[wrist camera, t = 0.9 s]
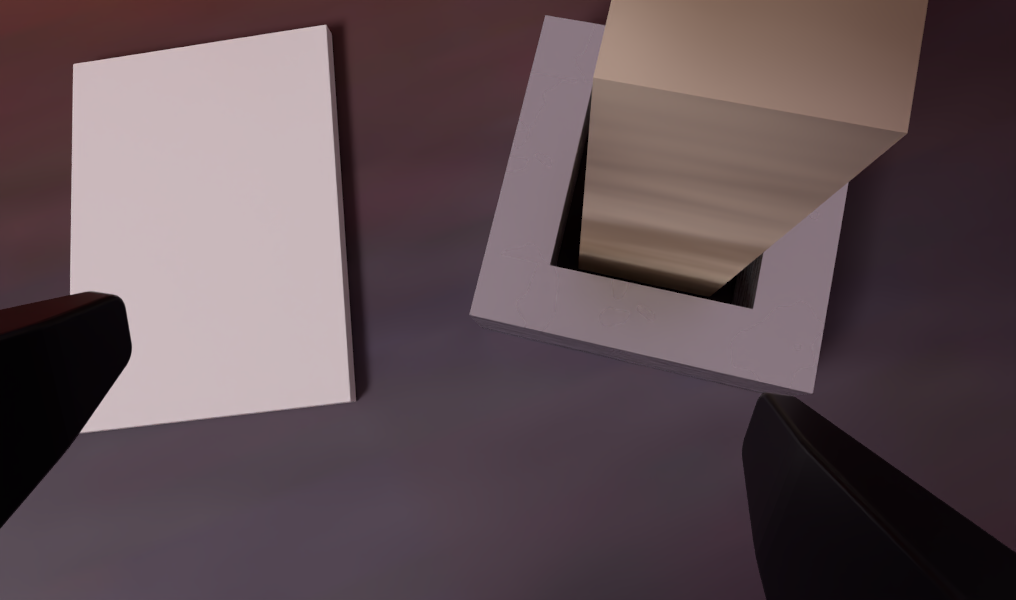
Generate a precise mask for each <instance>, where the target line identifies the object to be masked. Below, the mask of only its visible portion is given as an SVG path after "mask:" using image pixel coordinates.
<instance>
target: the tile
mask: <svg viewBox="0 0 1016 600" xmlns="http://www.w3.org/2000/svg"><path fill="white" fill-rule="evenodd" d="M87 291H95V292H101V293H108V294H114V295H117V296H119V297H120V298H121V299H122V300H123V302H124V303H125V307H126V312H127V318H128V324H129V330H130V336H131V342H132V353H131V357H130V360H129V362H128V364H127V365H126V367H125V368H124V370H123V371H122V373H121V374H120V376H119V377H118V378H117V380H116V381H115V383H114V384H113V386H112V387H111V389H110V390H109V391H108V393H107V394H106V396H105V397H104V399H103V400H102V402H101V403H100V404H99V406H98V407H97V409H96V410H95V412H94V413H93V415H92V416H91V417H90V419H89V420H88V422H87V423H86V425H85V426H84V428H83V429H82V430H81V432H80V433H79V434H81V433H90V432H99V431H107V430H116V429H125V428H133V427H142V426H151V425H159V424H168V423H176V422H185V421H194V420H202V419H211V418H220V417H228V416H237V415H246V414H254V413H263V412H271V411H280V410H289V409H297V408H306V407H315V406H323V405H332V404H341V403H349V402H356V391H355V376H354V361H353V346H352V330H351V315H350V300H349V285H348V270H347V255H346V240H345V225H344V210H343V195H342V180H341V165H340V150H339V135H338V119H337V104H336V89H335V74H334V59H333V44H332V33H331V32H330V30H329V28H328V27H327V25H321V26H314V27H308V28H301V29H295V30H289V31H282V32H276V33H270V34H263V35H257V36H250V37H244V38H238V39H231V40H225V41H218V42H212V43H206V44H199V45H193V46H186V47H180V48H174V49H167V50H161V51H155V52H148V53H142V54H135V55H129V56H123V57H116V58H110V59H103V60H97V61H91V62H84V63H78V64H73V123H72V195H71V267H70V295H73V294H77V293H82V292H87Z"/></svg>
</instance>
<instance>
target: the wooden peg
mask: <svg viewBox="0 0 1016 600" xmlns="http://www.w3.org/2000/svg"><path fill="white" fill-rule="evenodd" d="M927 5H928V0H612V1H611V5H610V9H609V13H608V17H607V22H606V26H605V30H604V34H603V38H602V43H601V47H600V51H599V55H598V59H597V64H596V68H595V72H594V76H593V86H592V99H591V112H590V125H589V137H588V150H587V163H586V175H585V188H584V201H583V214H582V226H581V239H580V252H579V264H578V269H581V270H586V271H590V272H595V273H600V274H604V275H609V276H613V277H618V278H623V279H627V280H632V281H636V282H641V283H646V284H650V285H655V286H660V287H664V288H669V289H673V290H678V291H683V292H687V293H692V294H697V295H701V296H706V297H710V296H711V295H712V294H714V293H715V292H716V291H717V290H719V289H720V288H721V287H722V286H723V285H725V284H726V283H727V282H728V281H729V280H731V279H732V278H733V277H734V276H735V275H737V274H738V273H739V272H740V271H742V270H743V269H744V268H745V267H746V266H748V265H749V264H750V263H751V262H752V261H754V260H755V259H756V258H757V257H758V256H760V255H761V254H762V253H763V252H764V251H766V250H767V249H768V248H769V247H771V246H772V245H773V244H774V243H775V242H777V241H778V240H779V239H780V238H781V237H783V236H784V235H785V234H786V233H787V232H789V231H790V230H791V229H792V228H793V227H795V226H796V225H797V224H798V223H800V222H801V221H802V220H803V219H804V218H806V217H807V216H808V215H809V214H810V213H812V212H813V211H814V210H815V209H816V208H818V207H819V206H820V205H821V204H823V203H824V202H825V201H826V200H827V199H829V198H830V197H831V196H832V195H833V194H835V193H836V192H837V191H838V190H839V189H841V188H842V187H843V186H844V185H845V184H847V183H848V182H849V181H850V180H852V179H853V178H854V177H855V176H856V175H858V174H859V173H860V172H861V171H862V170H864V169H865V168H866V167H867V166H868V165H870V164H871V163H872V162H873V161H875V160H876V159H877V158H878V157H879V156H881V155H882V154H883V153H884V152H885V151H887V150H888V149H889V148H890V147H891V146H893V145H894V144H895V143H896V142H897V141H899V140H900V139H901V138H902V137H904V136H905V135H906V134H907V133H908V126H909V120H910V113H911V107H912V101H913V94H914V88H915V82H916V75H917V69H918V62H919V56H920V50H921V43H922V37H923V31H924V24H925V18H926V11H927Z"/></svg>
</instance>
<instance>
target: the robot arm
mask: <svg viewBox="0 0 1016 600" xmlns="http://www.w3.org/2000/svg"><path fill="white" fill-rule="evenodd" d="M131 353H132V342H131V336H130V330H129V324H128V318H127V312H126V307H125V303H124V302H123V300H122V299H121V298H120V297H119V296H117V295H114V294H108V293H101V292H95V291H87V292H82V293H77V294H73V295H68V296H63V297H59V298H54V299H49V300H44V301H40V302H35V303H30V304H26V305H21V306H16V307H11V308H7V309H2V310H0V528H1V527H2V526H3V525H4V524H5V523H6V521H7V520H8V519H9V518H10V517H11V516H12V514H13V513H14V512H15V511H16V510H17V509H18V507H19V506H20V505H21V504H22V503H23V501H24V500H25V499H26V498H27V497H28V496H29V494H30V493H31V492H32V491H33V490H34V489H35V487H36V486H37V485H38V484H39V483H40V482H41V480H42V479H43V478H44V477H45V476H46V475H47V473H48V472H49V471H50V470H51V469H52V468H53V466H54V465H55V464H56V463H57V462H58V460H59V459H60V458H61V457H62V456H63V454H64V453H65V452H66V451H67V449H68V448H69V447H70V446H71V444H72V443H73V441H74V440H75V439H76V437H77V436H78V435H79V433H80V432H81V430H82V429H83V428H84V426H85V425H86V423H87V422H88V420H89V419H90V417H91V416H92V415H93V413H94V412H95V410H96V409H97V407H98V406H99V404H100V403H101V402H102V400H103V399H104V397H105V396H106V394H107V393H108V391H109V390H110V389H111V387H112V386H113V384H114V383H115V381H116V380H117V378H118V377H119V376H120V374H121V373H122V371H123V370H124V368H125V367H126V365H127V364H128V362H129V360H130V357H131ZM742 460H743V467H744V475H745V482H746V490H747V497H748V505H749V513H750V520H751V528H752V535H753V542H754V548H755V555H756V559H757V564H758V568H759V573H760V577H761V580H762V584H763V588H764V592H765V596H766V600H1016V553H1015V552H1014V551H1013V550H1011V549H1010V548H1008V547H1007V546H1005V545H1004V544H1003V543H1001V542H1000V541H998V540H997V539H996V538H994V537H993V536H991V535H990V534H988V533H987V532H986V531H984V530H983V529H981V528H980V527H979V526H977V525H976V524H974V523H973V522H971V521H970V520H969V519H967V518H966V517H964V516H963V515H962V514H960V513H959V512H957V511H956V510H954V509H953V508H952V507H950V506H949V505H947V504H946V503H945V502H943V501H942V500H940V499H939V498H937V497H936V496H935V495H933V494H932V493H930V492H929V491H928V490H926V489H925V488H923V487H922V486H920V485H919V484H918V483H916V482H915V481H913V480H912V479H911V478H909V477H908V476H906V475H905V474H903V473H902V472H901V471H899V470H898V469H896V468H895V467H894V466H892V465H891V464H889V463H888V462H886V461H885V460H884V459H882V458H881V457H879V456H878V455H877V454H875V453H874V452H872V451H871V450H869V449H868V448H867V447H865V446H864V445H862V444H861V443H860V442H858V441H857V440H855V439H854V438H852V437H851V436H850V435H848V434H847V433H845V432H844V431H843V430H841V429H840V428H838V427H837V426H835V425H834V424H833V423H831V422H830V421H828V420H827V419H826V418H824V417H823V416H821V415H820V414H818V413H817V412H816V411H814V410H813V409H811V408H810V407H809V406H807V405H806V404H804V403H803V402H801V401H800V400H799V399H797V398H796V397H794V396H790V395H784V394H777V393H770V392H765V393H763V394H762V395H761V396H760V397H759V399H758V400H757V403H756V406H755V409H754V412H753V414H752V417H751V420H750V423H749V426H748V429H747V432H746V435H745V438H744V441H743V447H742Z"/></svg>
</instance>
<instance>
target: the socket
mask: <svg viewBox="0 0 1016 600" xmlns="http://www.w3.org/2000/svg"><path fill="white" fill-rule="evenodd" d="M605 26H606V25H600V24H594V23H588V22H582V21H576V20H570V19H564V18H558V17H552V16H546V15H545V19H544V23H543V27H542V31H541V35H540V39H539V43H538V47H537V51H536V55H535V59H534V62H533V66H532V70H531V74H530V78H529V82H528V86H527V90H526V94H525V98H524V102H523V106H522V110H521V114H520V118H519V122H518V125H517V129H516V133H515V137H514V141H513V145H512V149H511V153H510V157H509V161H508V165H507V169H506V173H505V177H504V181H503V185H502V188H501V192H500V196H499V200H498V204H497V208H496V212H495V216H494V220H493V224H492V228H491V232H490V236H489V240H488V244H487V248H486V251H485V255H484V259H483V263H482V267H481V271H480V275H479V279H478V283H477V287H476V291H475V295H474V299H473V303H472V307H471V311H470V316H471V317H472V318H473V319H474V320H475V321H476V322H477V323H478V324H479V325H480V326H481V327H482V328H485V329H489V330H493V331H498V332H502V333H506V334H511V335H515V336H519V337H524V338H528V339H532V340H536V341H541V342H545V343H549V344H554V345H558V346H562V347H567V348H571V349H575V350H580V351H584V352H588V353H592V354H597V355H601V356H605V357H610V358H614V359H618V360H623V361H627V362H631V363H635V364H640V365H644V366H648V367H653V368H657V369H661V370H666V371H670V372H674V373H679V374H683V375H687V376H691V377H696V378H700V379H704V380H709V381H713V382H717V383H722V384H726V385H730V386H734V387H739V388H743V389H747V390H752V391H756V392H760V393H765V392H770V393H777V394H784V395H790V396H793V395H804V394H813V389H814V383H815V377H816V371H817V365H818V360H819V354H820V348H821V342H822V336H823V330H824V324H825V318H826V312H827V306H828V301H829V295H830V289H831V283H832V277H833V271H834V265H835V259H836V253H837V247H838V242H839V236H840V230H841V224H842V218H843V212H844V206H845V200H846V194H847V188H848V183H849V182H848V183H847V184H845V185H844V186H843V187H842V188H841V189H839V190H838V191H837V192H836V193H835V194H833V195H832V196H831V197H830V198H829V199H827V200H826V201H825V202H824V203H823V204H821V205H820V206H819V207H818V208H816V209H815V210H814V211H813V212H812V213H810V214H809V215H808V216H807V217H806V218H804V219H803V220H802V221H801V222H800V223H798V224H797V225H796V226H795V227H793V228H792V229H791V230H790V231H789V232H787V233H786V234H785V235H784V236H783V237H781V238H780V239H779V240H778V241H777V242H775V243H774V244H773V245H772V246H771V247H769V248H768V249H767V250H766V251H764V252H763V253H762V254H761V255H760V256H758V257H757V258H756V259H755V260H754V261H752V262H751V263H750V264H749V265H748V266H746V267H745V268H744V269H743V270H742V271H740V272H739V273H738V274H737V278H736V283H735V288H734V294H733V299H732V304H727V303H722V302H717V301H713V300H708V299H703V298H699V297H694V296H690V295H685V294H680V293H676V292H671V291H667V290H662V289H657V288H653V287H648V286H643V285H639V284H634V283H630V282H625V281H620V280H616V279H611V278H607V277H602V276H597V275H593V274H588V273H584V272H579V271H574V270H570V269H565V268H560V267H556V266H557V262H558V257H559V253H560V249H561V245H562V241H563V236H564V232H565V228H566V224H567V219H568V215H569V211H570V207H571V202H572V198H573V194H574V190H575V185H576V181H577V177H578V173H579V169H580V164H581V160H582V156H583V152H584V147H585V143H586V139H587V135H588V130H589V125H590V112H591V99H592V86H593V76H594V72H595V68H596V64H597V59H598V55H599V51H600V47H601V43H602V38H603V34H604V30H605Z"/></svg>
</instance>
